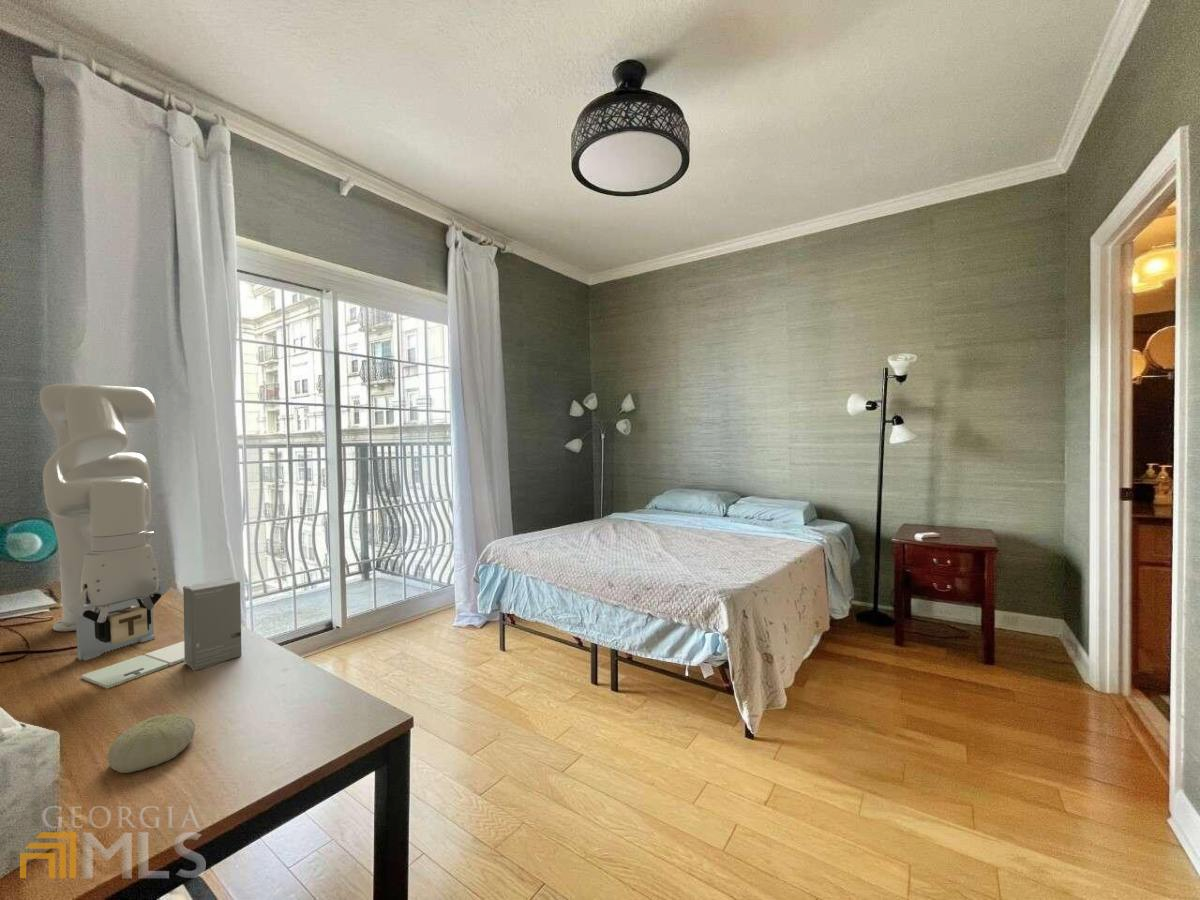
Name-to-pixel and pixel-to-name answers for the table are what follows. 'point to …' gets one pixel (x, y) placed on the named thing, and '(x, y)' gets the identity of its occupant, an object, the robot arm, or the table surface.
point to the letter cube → (127, 623)
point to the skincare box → (212, 622)
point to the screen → (94, 647)
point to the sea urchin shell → (151, 742)
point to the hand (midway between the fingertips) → (124, 634)
